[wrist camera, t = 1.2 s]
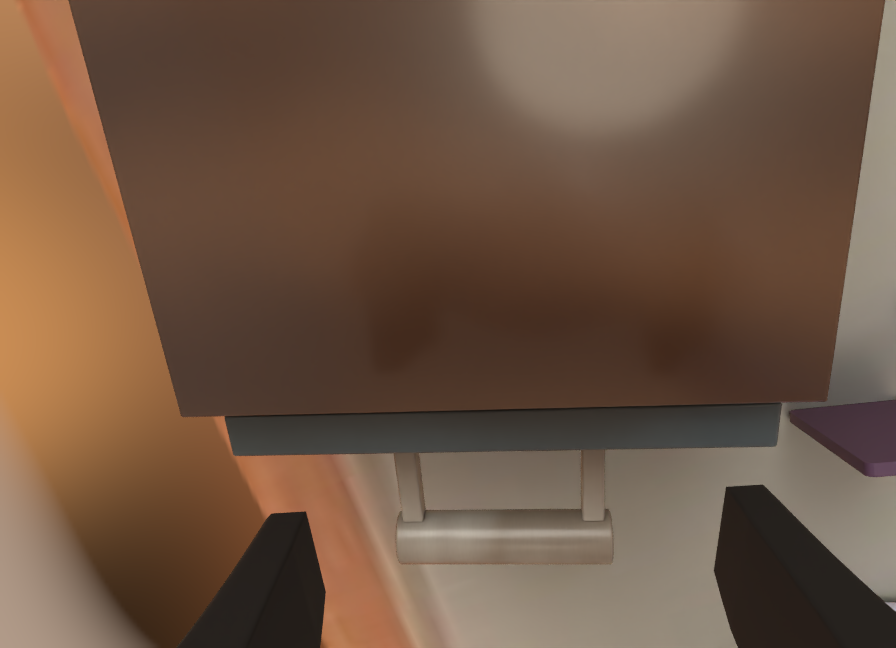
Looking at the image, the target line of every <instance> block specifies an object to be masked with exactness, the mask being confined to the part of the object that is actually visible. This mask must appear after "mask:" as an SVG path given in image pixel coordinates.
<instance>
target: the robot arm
mask: <svg viewBox="0 0 896 648" xmlns="http://www.w3.org/2000/svg"><path fill="white" fill-rule="evenodd" d="M714 573H715V576H716V580H717V584H718V587H719V591H720V594H721V598H722V602H723V605H724V609H725V612H726V615H727V619H728V622H729V625H730V629H731V631H732V634H733V636H734V639H735V641H736V644H737V646H738V648H896V602H884V601H883V600H882V599H881V598H880V597H879V596H877V595H876V594H875V593H874V592H873V591H872V590H871V589H870V588H869V587H868V586H866V585H865V584H864V583H863V582H862V581H861V580H860V579H859V578H858V577H857V576H856V575H855V574H853V573H852V572H851V571H850V570H849V569H848V568H847V567H846V566H845V565H844V564H843V563H842V562H841V561H839V560H838V559H837V558H836V557H835V556H834V555H833V554H832V553H831V552H830V551H829V550H828V549H827V548H826V547H825V546H824V545H823V544H822V543H821V542H820V541H819V540H818V539H817V538H816V537H815V536H814V535H813V534H812V533H811V532H810V531H809V530H808V529H807V528H806V527H805V526H804V525H803V524H802V523H801V522H800V521H799V520H798V519H797V518H796V517H795V516H794V515H793V514H792V513H791V512H790V511H789V510H788V509H787V508H786V507H785V506H784V505H783V504H782V503H781V502H780V501H779V500H778V499H777V498H776V497H775V496H774V495H773V494H772V493H771V492H770V491H769V490H768V489H767V488H766V487H765V486H764V485H750V486H733V487H726V491H725V498H724V505H723V512H722V519H721V526H720V533H719V539H718V546H717V553H716V560H715V567H714ZM325 593H326V591H325V587H324V583H323V579H322V575H321V571H320V567H319V563H318V559H317V554H316V550H315V546H314V542H313V538H312V534H311V530H310V526H309V522H308V518H307V514H306V512H291V513H274V514H271V515H270V516H269V517H268V518H267V519H266V520H265V522H264V524H263V525H262V527H261V528H260V530H259V531H258V533H257V535H256V537H255V538H254V539H253V541H252V542H251V544H250V545H249V547H248V549H247V550H246V552H245V553H244V555H243V556H242V558H241V559H240V561H239V562H238V564H237V565H236V567H235V568H234V570H233V571H232V573H231V574H230V575H229V577H228V578H227V580H226V581H225V583H224V584H223V586H222V587H221V588H220V590H219V591H218V593H217V594H216V595H215V597H214V598H213V600H212V601H211V602H210V604H209V605H208V606H207V608H206V609H205V611H204V612H203V614H202V615H201V616H200V618H199V619H198V620H197V622H196V623H195V624H194V626H193V627H192V628H191V629H190V631H189V632H188V633H187V634H186V636H185V637H184V638H183V640H182V641H181V642H180V643H179V645H178V646H177V647H176V648H320V643H321V634H322V625H323V615H324V604H325Z"/></svg>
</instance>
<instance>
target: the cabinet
mask: <svg viewBox="0 0 896 648" xmlns="http://www.w3.org/2000/svg"><path fill="white" fill-rule="evenodd" d="M68 1H69V4H70V8H71V12H72V15H73V19H74V23H75V26H76V30H77V34H78V38H79V41H80V45H81V49H82V52H83V56H84V60H85V63H86V67H87V71H88V74H89V78H90V82H91V85H92V89H93V93H94V97H95V100H96V104H97V108H98V111H99V115H100V119H101V122H102V126H103V130H104V133H105V137H106V141H107V144H108V148H109V152H110V156H111V159H112V163H113V167H114V170H115V174H116V178H117V181H118V185H119V189H120V192H121V196H122V200H123V203H124V207H125V211H126V215H127V218H128V222H129V226H130V229H131V233H132V237H133V240H134V244H135V248H136V251H137V255H138V259H139V262H140V266H141V270H142V274H143V277H144V281H145V285H146V288H147V292H148V296H149V299H150V303H151V307H152V310H153V314H154V318H155V321H156V325H157V329H158V333H159V336H160V340H161V343H162V347H163V351H164V355H165V358H166V362H167V365H168V369H169V373H170V376H171V380H172V384H173V388H174V391H175V395H176V399H177V403H178V406H179V409H180V414H181V416H182V417H203V416H204V417H206V416H248V415H289V414H330V413H372V412H413V411H454V410H496V409H537V408H578V407H620V406H661V405H702V404H744V403H785V402H825V401H827V397H828V390H829V383H830V376H831V370H832V363H833V356H834V349H835V342H836V335H837V328H838V321H839V314H840V308H841V301H842V294H843V287H844V280H845V273H846V266H847V259H848V252H849V246H850V239H851V232H852V225H853V218H854V211H855V204H856V197H857V190H858V184H859V177H860V170H861V163H862V156H863V149H864V142H865V135H866V128H867V121H868V115H869V108H870V101H871V94H872V87H873V80H874V73H875V66H876V59H877V53H878V46H879V39H880V32H881V25H882V18H883V11H884V4H885V0H68Z"/></svg>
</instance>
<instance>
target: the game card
mask: <svg viewBox="0 0 896 648" xmlns="http://www.w3.org/2000/svg"><path fill="white" fill-rule="evenodd" d="M789 415H790V422H791V423H792V424H794V425H795V426H796V427H798V428H799V429H801V430H802V431H803V432H805V433H806V434H808V435H809V436H810V437H812V438H813V439H815V440H816V441H817V442H819V443H820V444H822V445H823V446H824V447H826V448H827V449H829V450H830V451H831V452H833V453H834V454H836V455H837V456H838V457H840V458H841V459H843V460H844V461H845V462H847V463H848V464H850V465H851V466H852V467H854V468H855V469H857V470H858V471H859V472H861V473H862V474H864V475H865V476H869V477H883V476H895V475H896V400H888V401H878V402H868V403H858V404H847V405H837V406H827V407H817V408H807V409H796V410H790V411H789Z"/></svg>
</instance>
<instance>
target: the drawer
mask: <svg viewBox="0 0 896 648" xmlns="http://www.w3.org/2000/svg"><path fill="white" fill-rule="evenodd" d="M781 406H782V404H781V403H744V404H702V405H661V406H620V407H578V408H537V409H496V410H454V411H413V412H372V413H330V414H289V415H248V416H225V422H226V426H227V430H228V434H229V438H230V443H231V447H232V451H233V454H234V455H235V456H262V455H319V454H377V453H394V459H395V466H396V474H397V481H398V488H399V495H400V503H401V510H402V511H400V513H399V515H398V519H397V525H396V553H397V558H398V561H399V563H400V564H612V563H613V558H614V544H613V528H612V519H611V514H610V511H609V509H605V450H607V449H665V448H722V447H774V446H776V445H777V440H778V431H779V423H780V414H781ZM550 450H580V457H581V509H504V510H426V507H425V499H424V491H423V482H422V474H421V466H420V457H419V453H434V452H492V451H550Z"/></svg>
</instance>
